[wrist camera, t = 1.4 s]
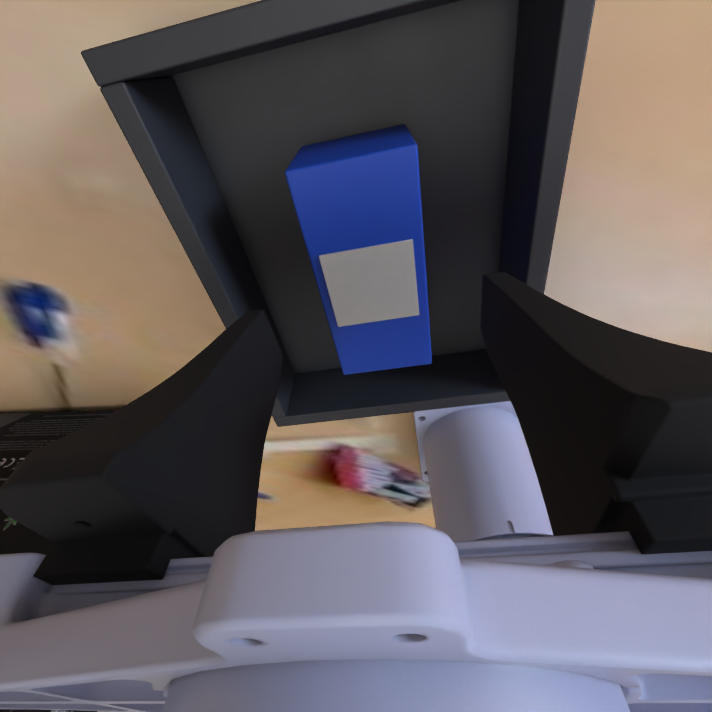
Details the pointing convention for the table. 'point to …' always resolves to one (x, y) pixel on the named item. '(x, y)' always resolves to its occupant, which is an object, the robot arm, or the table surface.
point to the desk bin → (346, 118)
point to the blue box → (366, 245)
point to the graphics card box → (6, 452)
